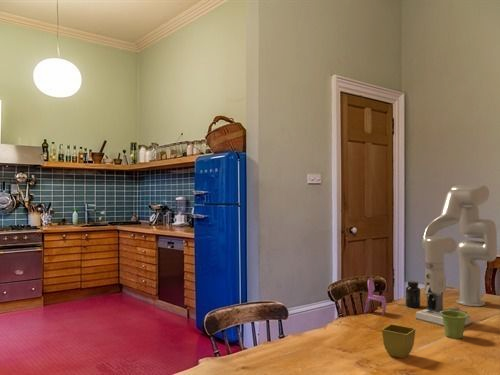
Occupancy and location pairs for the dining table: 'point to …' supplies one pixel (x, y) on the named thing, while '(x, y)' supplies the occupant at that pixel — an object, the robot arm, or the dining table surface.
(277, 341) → the dining table surface
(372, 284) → the toy chair
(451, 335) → the plant pot
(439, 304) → the plug
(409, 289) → the supplement bottle
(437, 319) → the socket plate
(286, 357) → the dining table surface
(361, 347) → the dining table surface
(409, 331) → the flower pot
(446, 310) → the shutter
